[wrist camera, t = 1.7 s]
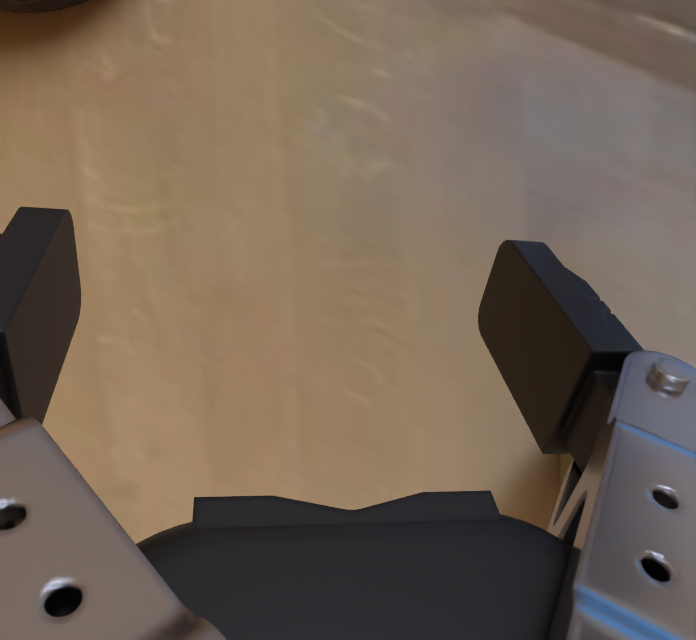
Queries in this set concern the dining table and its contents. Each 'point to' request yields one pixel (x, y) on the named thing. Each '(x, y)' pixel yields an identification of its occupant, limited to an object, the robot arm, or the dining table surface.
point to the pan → (36, 5)
